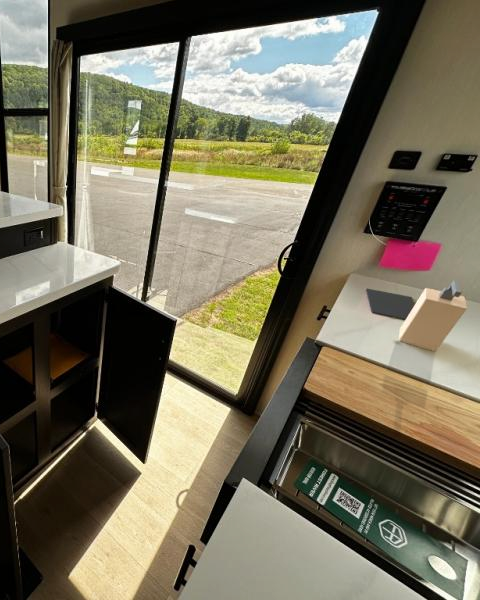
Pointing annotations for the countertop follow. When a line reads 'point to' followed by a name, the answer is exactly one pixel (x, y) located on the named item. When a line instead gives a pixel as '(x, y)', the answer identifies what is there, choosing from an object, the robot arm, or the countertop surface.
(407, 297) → the mat
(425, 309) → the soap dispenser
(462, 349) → the countertop surface
